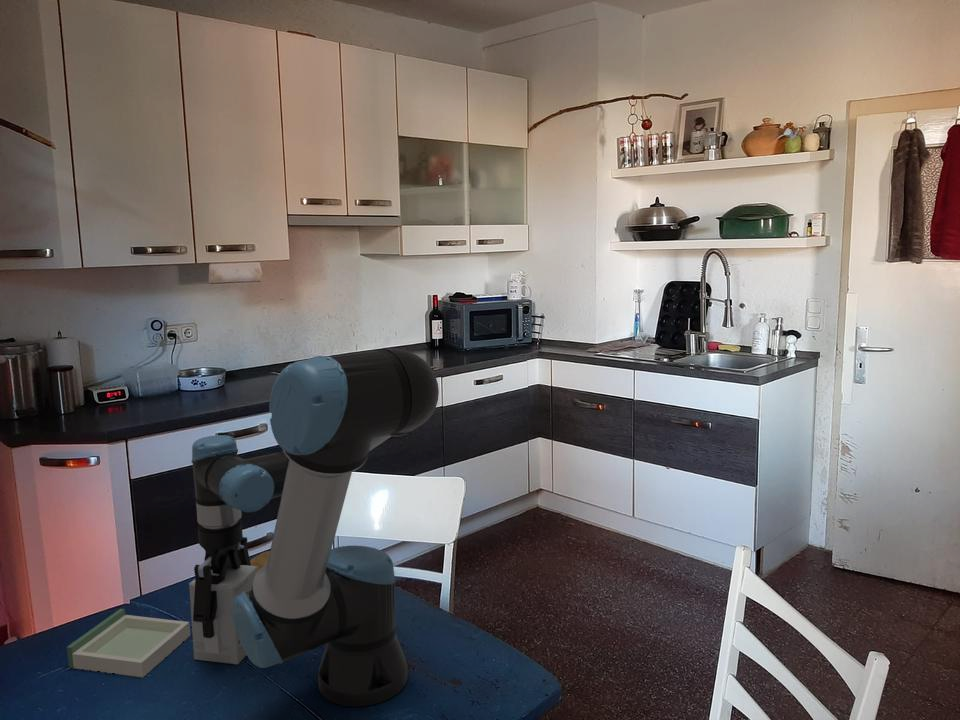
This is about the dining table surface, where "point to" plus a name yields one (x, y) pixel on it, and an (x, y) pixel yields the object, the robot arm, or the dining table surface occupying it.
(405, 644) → the dining table surface
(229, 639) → the supplement box
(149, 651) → the shallow square tray
